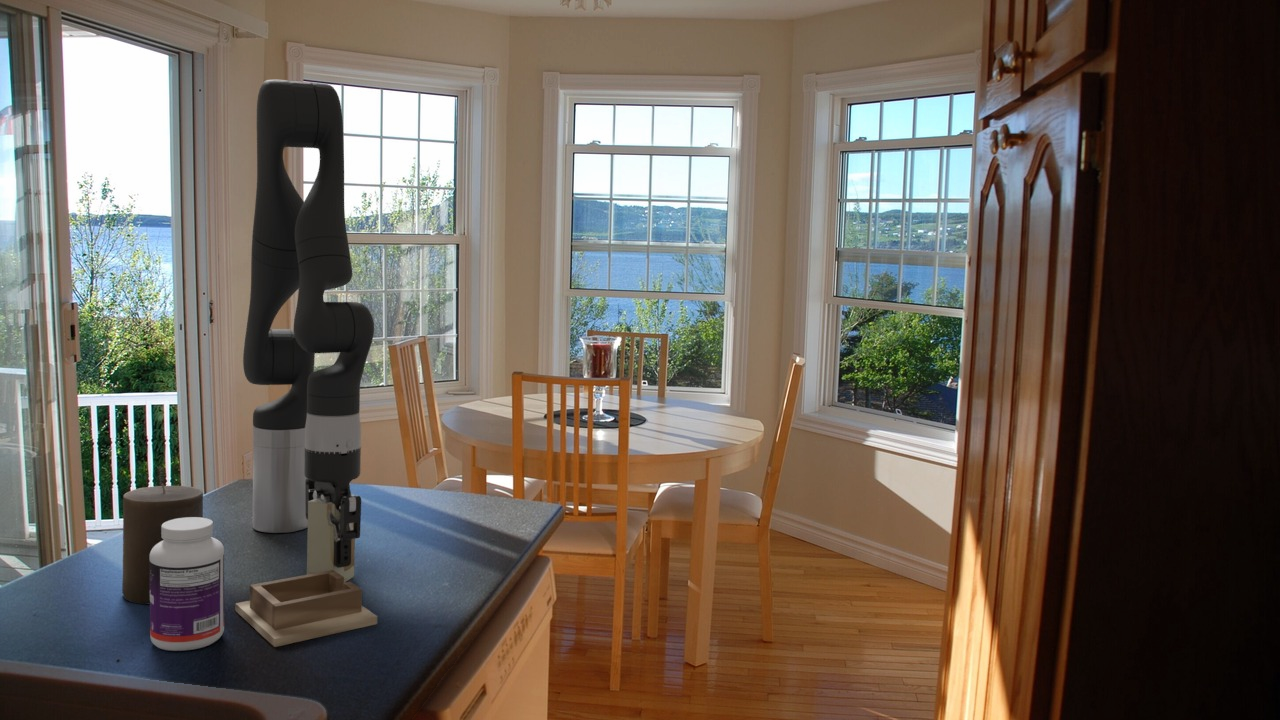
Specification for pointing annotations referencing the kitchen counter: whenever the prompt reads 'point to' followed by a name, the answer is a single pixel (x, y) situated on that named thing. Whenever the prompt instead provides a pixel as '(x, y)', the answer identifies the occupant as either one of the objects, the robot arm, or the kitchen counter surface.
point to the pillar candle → (150, 530)
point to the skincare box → (324, 540)
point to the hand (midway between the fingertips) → (331, 558)
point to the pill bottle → (186, 586)
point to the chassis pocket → (305, 608)
